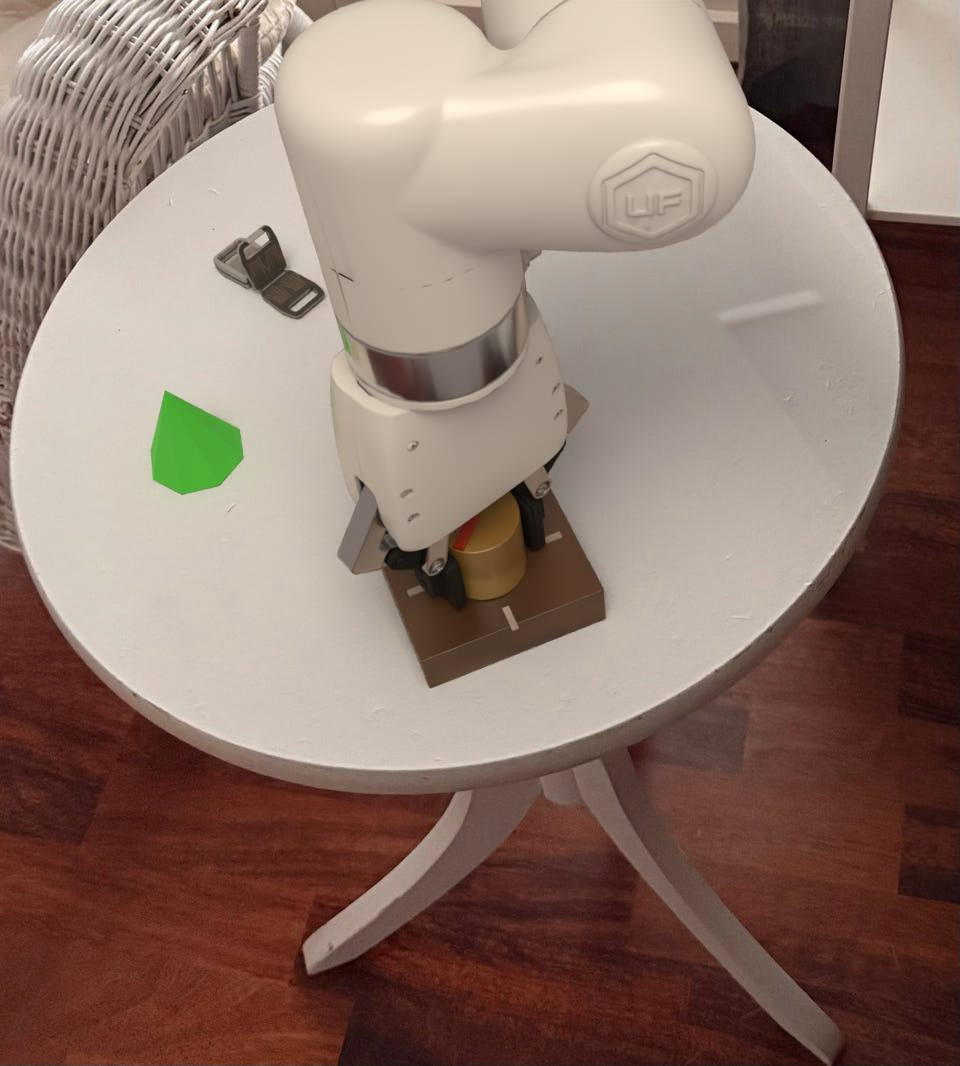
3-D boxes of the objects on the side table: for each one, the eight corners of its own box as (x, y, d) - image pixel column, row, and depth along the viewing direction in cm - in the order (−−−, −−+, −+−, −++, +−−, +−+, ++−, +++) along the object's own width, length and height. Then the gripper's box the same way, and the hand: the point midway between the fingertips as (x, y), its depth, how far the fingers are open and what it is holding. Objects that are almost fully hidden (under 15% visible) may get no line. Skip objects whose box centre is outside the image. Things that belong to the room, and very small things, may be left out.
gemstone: (262, 459, 74) (235, 394, 69) (175, 511, 73) (140, 449, 68) (217, 399, 77) (187, 333, 73) (131, 448, 76) (95, 385, 71)
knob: (462, 520, 67) (450, 466, 63) (539, 541, 65) (532, 487, 61) (430, 587, 65) (415, 536, 61) (508, 610, 63) (499, 559, 59)
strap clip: (211, 269, 84) (192, 221, 81) (244, 243, 85) (226, 195, 82) (296, 324, 80) (280, 276, 77) (329, 296, 81) (314, 247, 78)
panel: (545, 502, 70) (541, 469, 68) (608, 623, 66) (606, 592, 63) (380, 566, 69) (369, 534, 67) (431, 693, 65) (422, 665, 62)
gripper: (535, 168, 54) (560, 430, 69) (207, 377, 49) (311, 609, 64) (655, 255, 50) (653, 512, 65) (312, 490, 45) (396, 708, 61)
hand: (483, 558), depth 65 cm, fingers closed on knob, 4 cm apart
